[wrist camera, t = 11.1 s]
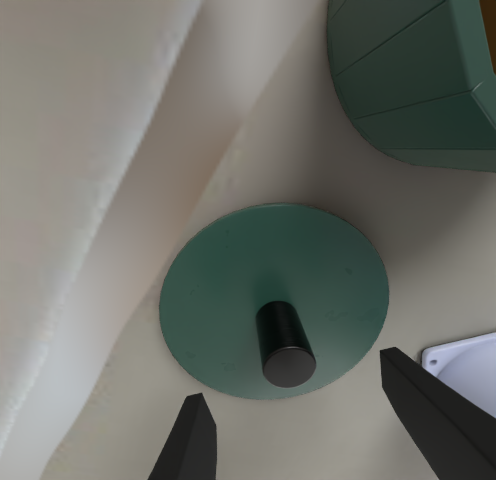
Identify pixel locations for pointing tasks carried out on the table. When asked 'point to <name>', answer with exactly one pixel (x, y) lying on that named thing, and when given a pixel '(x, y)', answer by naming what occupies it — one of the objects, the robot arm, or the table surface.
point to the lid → (273, 301)
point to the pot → (416, 79)
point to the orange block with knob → (490, 27)
